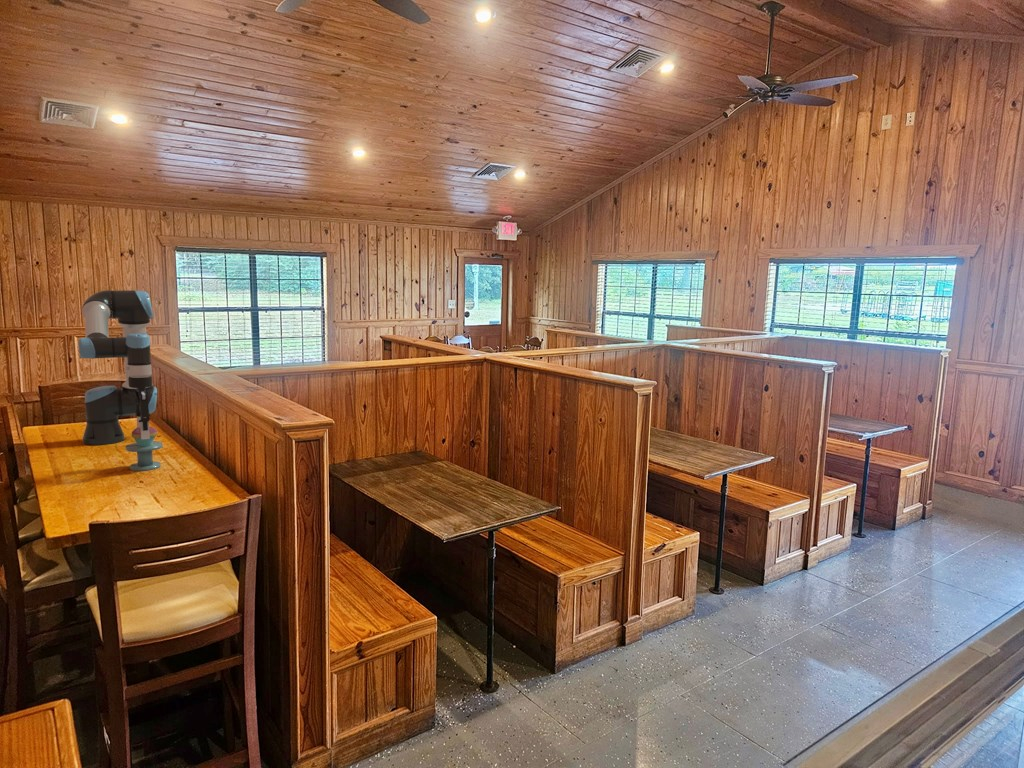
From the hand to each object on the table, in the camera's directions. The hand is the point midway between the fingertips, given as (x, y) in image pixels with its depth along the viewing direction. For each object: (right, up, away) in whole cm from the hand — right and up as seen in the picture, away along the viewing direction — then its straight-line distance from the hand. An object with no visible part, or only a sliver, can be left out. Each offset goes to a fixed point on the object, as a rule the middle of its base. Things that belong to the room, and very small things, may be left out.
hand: (143, 436), depth 241 cm
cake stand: (0, -12, +2) cm, 12 cm away
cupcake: (0, -4, +1) cm, 4 cm away
